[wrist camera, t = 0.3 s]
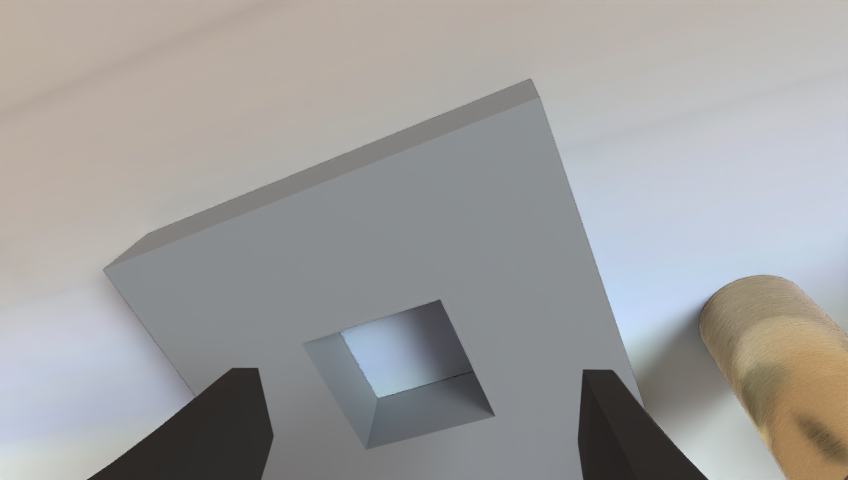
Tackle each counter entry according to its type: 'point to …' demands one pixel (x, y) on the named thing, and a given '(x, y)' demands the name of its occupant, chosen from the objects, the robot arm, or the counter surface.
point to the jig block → (397, 300)
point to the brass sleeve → (784, 372)
